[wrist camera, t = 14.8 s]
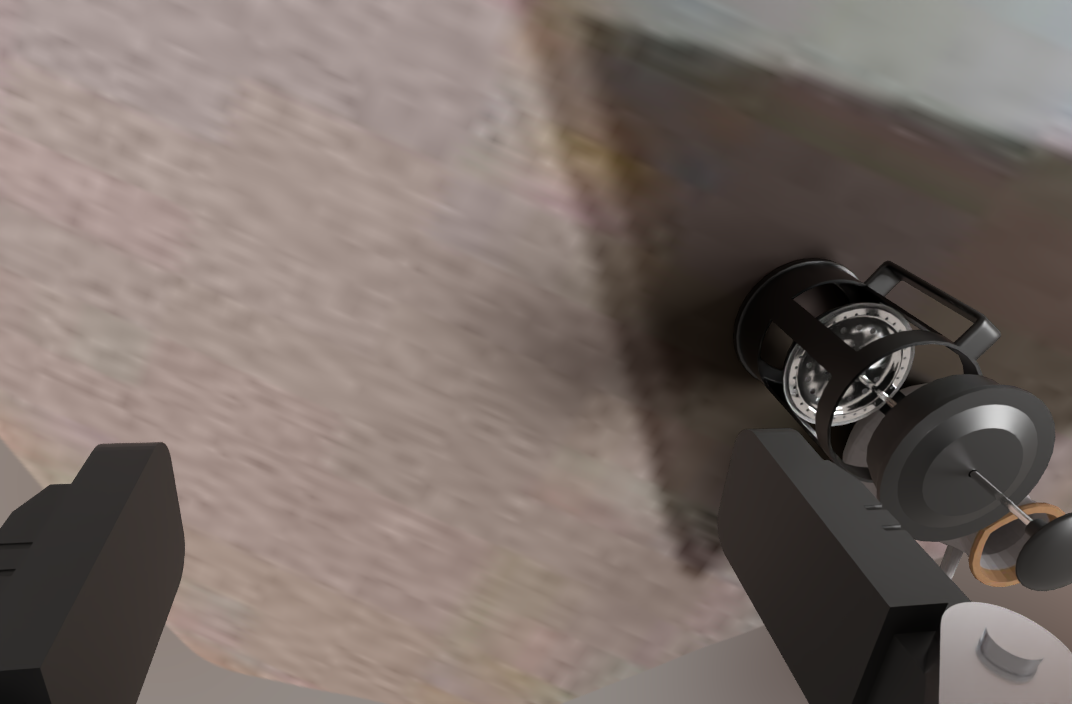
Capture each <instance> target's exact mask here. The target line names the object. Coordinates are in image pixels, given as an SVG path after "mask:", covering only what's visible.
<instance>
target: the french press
mask: <svg viewBox="0 0 1072 704" xmlns="http://www.w3.org/2000/svg"><path fill="white" fill-rule="evenodd" d="M900 281H905V282H907V283H908V284H910V285H912V286H913V287H915V288H917V289H918V290H920V291H922V292H923V293H925V294H927V295H928V296H930V297H932V298H933V299H935V300H937V301H938V302H940V303H942V304H943V305H945V306H947V307H948V308H950V309H952V310H953V311H955V312H957V313H958V314H960V315H962V316H963V317H965V318H967V319H968V320H970V321H972V322H973V323H974V324H973V325H972V326H971V327H970V328H969V329H968V330H967V331H966V332H965V333H964V334H963V335H962V336H961V337H959V338H958V339H957V340H956V341H955V342H952V341H951V340H949V339H948V338H946V337H945V336H943V335H942V334H940V333H938V332H937V331H935V330H934V329H932V328H931V327H929V326H928V325H926V324H925V323H923V322H922V321H920V320H919V319H917V318H916V317H914V316H913V315H911V314H910V313H908V312H906V311H905V310H903V309H902V308H900V307H899V306H897V305H896V304H894V303H893V302H891V301H890V300H888V299H887V298H885V296H886V295H887V294H888V293H889V292H890V291H891V290H892V289H893V288H894V287H895V286H896V285H897V284H898V283H899V282H900ZM827 283H833V284H835V285H836V286H838V287H839V288H840V290H841V291H842V292H843V293H844V295H845V297H846V299H847V303H848V304H846V305H842V306H838V307H836V308H834V309H831V310H829V311H826V312H825V313H823V314H821V315H820V316H818V317H816V318H815V317H814V316H812V315H811V314H810V313H809V312H807V311H806V310H805V309H804V308H803V307H801V306H800V305H799V304H798V303H796V302H795V301H794V300H793V299H794V298H795V297H797V296H798V295H800V294H802V293H803V292H805V291H807V290H809V289H812V288H814V287H816V286H820V285H823V284H827ZM772 321H773V322H774V323H775V324H776V325H778V326H779V327H780V328H781V329H782V330H783V331H784V332H785V333H786V334H787V335H788V336H790V337H791V338H792V339H793V340H794V341H793V343H792V345H791V347H790V349H789V351H788V353H787V356H786V359H785V362H784V367H783V369H778V368H775V367H772V366H770V365H769V364H767V363H766V362H764V361H763V360H762V358H761V357H760V352H761V346H762V342H763V339H764V336H765V333H766V331H767V329H768V328H769V326H770V324H771V322H772ZM908 321H909V322H910V323H912V324H913V325H915V326H916V327H918V328H919V329H921V330H912V329H911V327H910V325H909V323H908ZM1000 336H1001V333H1000V331H999V330H998V329H997V328H996V327H995V326H994V325H993V324H992V323H991V322H990V321H989V320H988V319H987V317H986V316H985V315H983V314H982V313H980V312H978V311H976V310H975V309H973V308H971V307H969V306H968V305H966V304H964V303H962V302H961V301H959V300H957V299H956V298H954V297H952V296H950V295H949V294H947V293H945V292H943V291H942V290H940V289H938V288H936V287H935V286H933V285H931V284H929V283H928V282H926V281H924V280H922V279H921V278H919V277H917V276H916V275H914V274H912V273H910V272H909V271H907V270H905V269H903V268H902V267H900V266H898V265H896V264H895V263H893V262H891V261H886V262H884V263H883V264H882V265H881V266H880V267H879V268H878V269H877V270H876V271H875V272H874V273H873V274H872V275H871V276H870V277H869V278H868V279H867V280H866V281H865V282H864V283H862V282H861V281H859V279H858V278H857V277H856V276H855V275H854V273H853V272H851V271H850V270H849V269H847V268H846V267H844V266H843V265H841V264H839V263H836V262H834V261H831V260H826V259H819V258H814V259H802V260H799V261H795V262H791V263H789V264H786V265H784V266H782V267H780V268H777V269H776V270H774V271H773V272H771V273H770V274H768V275H767V276H765V277H764V278H763V279H762V280H761V281H760V282H759V283H758V284H757V285H756V286H755V287H754V288H753V289H752V291H751V292H750V293H749V294H748V296H747V297H746V299H745V300H744V302H743V304H742V306H741V308H740V309H739V312H738V315H737V318H736V321H735V327H734V347H735V350H736V353H737V356H738V359H739V360H740V362H741V364H742V365H743V367H744V368H745V369H746V370H747V371H748V372H749V373H750V374H751V375H752V376H753V377H755V378H757V379H758V380H760V381H761V382H762V383H763V384H764V385H765V386H766V388H767V389H768V390H769V391H770V392H771V393H772V394H773V395H774V396H775V398H776V399H777V400H778V401H779V402H780V403H781V404H782V405H783V406H784V408H785V409H786V410H787V411H788V412H789V413H790V414H791V415H792V416H793V418H794V419H795V420H796V421H797V422H798V423H799V424H800V425H801V427H802V428H803V429H804V430H805V431H806V432H807V433H808V434H809V435H810V437H811V438H812V439H813V440H814V441H815V442H816V443H817V444H818V445H819V447H820V448H821V449H822V450H823V451H824V452H825V453H826V454H827V455H828V457H829V458H830V459H831V460H832V461H833V462H834V463H835V464H836V465H837V466H839V467H840V468H842V469H843V470H845V471H846V472H848V473H849V474H851V475H853V476H854V477H856V478H857V479H859V480H860V481H864V482H867V483H874V485H875V487H876V489H877V496H876V497H877V499H878V500H879V502H880V503H881V504H882V508H883V510H884V509H887V510H888V511H889V512H890V513H891V515H892V516H893V517H894V518H895V519H896V520H897V521H898V522H899V523H900V524H901V530H906V531H907V532H908V533H909V534H910V535H911V536H912V537H913V539H915V540H919V541H931V542H938V541H946V540H953V539H956V538H960V537H963V536H967V535H970V534H972V533H974V532H977V531H979V530H981V529H984V528H986V527H987V526H989V525H991V524H992V523H994V522H996V521H998V520H999V519H1001V518H1002V517H1003V516H1005V515H1006V514H1007V513H1009V512H1012V513H1013V514H1014V515H1015V516H1016V517H1017V518H1019V519H1020V520H1021V521H1022V522H1023V523H1024V524H1025V525H1027V526H1026V528H1025V533H1026V534H1027V535H1028V536H1029V537H1030V538H1029V540H1028V541H1027V542H1026V543H1025V544H1024V546H1023V547H1022V549H1021V551H1020V552H1019V555H1018V557H1017V560H1016V565H1015V571H1016V576H1017V579H1018V581H1019V582H1020V583H1021V584H1022V585H1023V586H1025V587H1027V588H1029V589H1032V590H1036V591H1049V590H1055V589H1058V588H1061V587H1064V586H1067V585H1069V584H1071V583H1072V513H1068V514H1065V515H1063V516H1060V517H1058V518H1056V519H1054V520H1052V521H1050V522H1049V523H1047V522H1045V521H1044V520H1043V519H1040V518H1038V519H1034V520H1033V519H1032V518H1031V517H1029V516H1028V515H1027V514H1026V513H1025V512H1024V511H1022V510H1021V509H1020V508H1019V507H1018V506H1017V505H1018V504H1019V503H1020V502H1021V501H1022V500H1023V499H1024V498H1025V497H1026V496H1027V495H1028V494H1029V493H1030V492H1031V490H1032V489H1033V488H1034V487H1035V485H1036V484H1037V483H1038V482H1039V480H1040V478H1041V476H1042V475H1043V473H1044V471H1045V470H1046V468H1047V466H1048V463H1049V461H1050V458H1051V455H1052V453H1053V448H1054V442H1055V424H1054V421H1053V418H1052V415H1051V412H1050V411H1049V409H1048V408H1047V407H1046V405H1045V404H1044V403H1043V401H1041V400H1040V399H1038V398H1037V397H1036V396H1034V395H1033V394H1031V393H1030V392H1028V391H1026V390H1023V389H1021V388H1018V387H1015V386H1008V385H1000V384H998V383H997V382H995V381H994V380H992V379H989V378H987V377H984V376H983V375H982V372H981V370H980V367H979V365H978V363H977V362H976V360H977V359H978V358H979V357H980V356H981V355H982V354H983V353H984V352H985V351H986V350H987V349H989V348H990V347H991V346H992V345H993V344H994V343H995V342H996V341H997V340H998V339H999V338H1000ZM924 344H938V345H945V346H946V347H948V348H949V349H951V350H952V351H954V352H955V353H957V354H958V355H959V357H960V360H961V362H962V364H963V370H964V374H962V375H952V376H948V377H945V378H941V379H937V380H935V381H933V382H930V383H928V384H926V385H923V386H921V387H920V388H918V389H916V390H915V391H913V392H912V393H910V394H908V395H907V396H906V395H905V394H904V393H902V392H901V391H900V390H899V389H900V387H901V386H902V384H903V383H904V381H905V380H906V378H907V375H908V373H909V371H910V369H911V366H912V362H913V359H914V352H915V346H916V345H924ZM877 410H879V411H880V412H881V413H882V414H884V415H885V417H884V418H883V419H882V420H881V422H880V423H879V425H878V426H877V428H876V429H875V431H874V432H873V435H872V437H871V439H870V441H869V443H868V446H867V457H866V462H867V465H868V467H858V466H853V465H849V464H846V463H844V462H843V461H842V460H841V459H840V458H839V456H838V455H837V454H836V453H835V452H834V451H833V449H832V445H831V426H837V425H844V424H848V423H852V422H855V421H858V420H860V419H862V418H864V417H867V416H868V415H870V414H872V413H873V412H875V411H877ZM805 420H806V421H808V422H810V423H813V424H815V430H814V429H813V428H812V427H811V426H810V425H809V424H808V423H807V422H806V421H805Z"/></svg>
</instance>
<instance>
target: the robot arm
mask: <svg viewBox="0 0 1072 704" xmlns="http://www.w3.org/2000/svg"><path fill="white" fill-rule="evenodd" d="M718 533H719V539H720V543H721V546H722V549H723V552H724V554H725V556H726V557H727V559H728V561H729V563H730V565H731V566H732V568H733V570H734V572H735V573H736V575H737V577H738V579H739V580H740V582H741V584H742V586H743V588H744V589H745V591H746V593H747V595H748V596H749V598H750V600H751V602H752V603H753V605H754V607H755V609H756V611H757V612H758V614H759V616H760V618H761V619H762V621H763V623H764V625H765V626H766V628H767V630H768V632H769V634H770V635H771V637H772V639H773V640H774V642H775V644H776V646H777V648H778V649H779V651H780V653H781V655H782V656H783V658H784V660H785V662H786V663H787V665H788V667H789V669H790V671H791V672H792V674H793V676H794V678H795V680H796V681H797V683H798V685H799V686H800V688H801V690H802V692H803V694H804V695H805V697H806V699H807V701H808V703H809V704H1072V653H1071V652H1070V651H1069V650H1068V649H1067V648H1066V647H1065V645H1063V643H1062V642H1061V641H1059V640H1058V639H1057V638H1056V637H1055V636H1054V635H1052V634H1051V633H1050V632H1048V631H1047V630H1046V629H1044V628H1043V627H1041V626H1040V625H1038V624H1037V623H1035V622H1033V621H1032V620H1030V619H1028V618H1026V617H1024V616H1022V615H1020V614H1018V613H1016V612H1013V611H1011V610H1008V609H1006V608H1002V607H999V606H996V605H992V604H987V603H980V602H971V601H970V600H969V598H967V596H966V595H965V594H964V593H963V592H962V591H961V590H960V589H959V588H958V587H957V585H956V584H955V583H954V582H953V581H952V580H951V579H950V578H949V577H948V576H947V574H946V573H945V572H944V571H943V570H942V569H941V568H940V567H939V566H938V565H937V564H936V563H935V561H934V560H933V559H932V558H931V557H930V556H929V555H928V554H927V553H926V552H925V551H924V549H923V548H922V547H921V546H920V545H919V544H918V543H917V542H916V541H915V540H914V539H913V537H912V536H911V535H910V534H909V533H908V532H907V531H906V530H901V524H900V523H899V522H898V521H897V520H896V519H895V518H894V517H893V516H892V515H891V513H890V512H889V511H888V510H887V509H884V510H883V508H882V504H881V503H880V502H879V500H878V499H877V498H876V497H875V496H874V495H873V494H872V493H871V492H870V491H869V490H868V488H867V487H866V486H865V485H864V484H863V483H862V482H861V481H860V480H859V479H857V478H856V477H854V476H853V475H851V474H849V473H848V472H846V471H845V470H843V469H842V468H840V467H839V466H837V465H835V464H834V463H832V462H831V461H829V460H823V459H822V458H821V457H820V456H819V455H818V454H817V452H816V451H815V450H814V449H813V448H812V447H811V446H810V444H809V443H808V442H807V441H806V440H805V439H804V438H803V437H802V435H801V434H800V433H799V432H798V431H796V430H795V429H792V428H779V429H745V430H742V431H741V432H740V433H739V434H738V436H737V438H736V440H735V444H734V448H733V452H732V456H731V460H730V465H729V469H728V473H727V477H726V482H725V486H724V490H723V494H722V498H721V503H720V507H719V512H718ZM184 556H185V540H184V531H183V526H182V520H181V514H180V508H179V502H178V497H177V491H176V485H175V479H174V473H173V467H172V462H171V457H170V453H169V450H168V448H167V446H166V445H165V444H164V443H163V442H155V443H114V444H99V445H98V446H96V447H95V448H94V450H93V451H92V453H91V454H90V456H89V457H88V459H87V460H86V462H85V463H84V465H83V466H82V468H81V470H80V471H79V473H78V474H77V476H76V477H75V479H74V480H73V482H72V483H71V484H54V485H49V486H48V487H46V488H45V489H44V490H42V491H41V492H40V493H38V494H37V495H35V496H34V497H33V498H31V499H30V500H28V501H27V502H26V503H24V504H23V505H21V506H20V507H19V508H17V509H16V510H15V511H13V512H12V513H11V515H10V516H9V517H8V519H7V520H6V521H5V523H4V524H3V526H2V527H1V528H0V704H136V702H137V700H138V697H139V694H140V691H141V689H142V686H143V683H144V680H145V678H146V675H147V672H148V669H149V666H150V664H151V661H152V658H153V656H154V653H155V650H156V647H157V645H158V642H159V639H160V636H161V634H162V631H163V628H164V625H165V623H166V620H167V617H168V614H169V612H170V609H171V606H172V603H173V601H174V598H175V595H176V592H177V590H178V587H179V584H180V581H181V577H182V572H183V566H184Z"/></svg>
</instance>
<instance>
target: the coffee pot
mask: <svg viewBox="0 0 1072 704" xmlns="http://www.w3.org/2000/svg"><path fill="white" fill-rule="evenodd" d="M926 384H928V383H925V384H920V385H915V386H910V387H907V388H904V389H902V390H900V391H901V392H902V393H904V394H905V395H906V396H907V395H908V394H910V393H912V392H913V391H915V390H916V389H918V388H920V387H921V386H923V385H926ZM884 417H885V415H884V414H882V413H881V412H880V411H879V410H877V411H875V412H873V413H872V414H870V415H868V416H867V417H864V418H862V419H860V420H858V421H857V422H856V424H855V425H854V427H853V429H852V431H851V433H850V435H849V438H848V441H847V443H846V446H845V449H844V451H843V460H842V461H843V462H844V463H846V464H849V465H853V466H858V467H868V465H867V462H866V457H867V446H868V443H869V441H870V439H871V437H872V435H873V432H874V431H875V429H876V428H877V426H878V425H879V423H880V422H881V420H882V419H883V418H884ZM861 482H862V483H863V484H864V485H865V486H866V487H867V488H868V490H869V491H870V492H871V493H872V494H873V495H874V496H875V497H876V496H877V489H876V487H875V485H874V483H867V482H864V481H861ZM876 498H877V497H876ZM1017 506H1018V507H1019V508H1020V509H1021V510H1022V511H1024V512H1025V513H1026V514H1027V515H1028V516H1029V517H1031V518H1032V519H1033V520H1034V519H1038V518H1040V519H1043V520H1044V521H1045V522H1047V523H1049V522H1050V521H1052V520H1054V519H1056V518H1058V517H1060V516H1063V515H1065V513H1064V512H1063V511H1062V510H1061V509H1059V508H1058V507H1056V506H1054V505H1050V504H1047V503H1037V502H1035V501H1033V500H1031V499H1030V497H1029V494H1028V495H1027V496H1026V497H1025V498H1024V499H1023V500H1022V501H1021V502H1020V503H1019V504H1018V505H1017ZM1026 526H1027V525H1025V524H1024V523H1023V522H1022V521H1021V520H1020V519H1019V518H1017V517H1016V516H1015V515H1014V514H1013V513H1012V512H1009V513H1007V514H1006V515H1005V516H1003V517H1002V518H1001V519H999V520H998V521H996V522H994V523H992V524H991V525H989V526H987V527H986V528H984V529H981V530H979V531H977V532H974V533H972V534H970V535H967V536H963V537H960V538H956V539H953V540H946V541H938V542H941V543H943V544H946V545H948V546H947V549H946V551H945V554H944V557H943V559H942V562H941V565H940V568H941V569H942V570H943V571H944V572H945V573H946V574H947V576H948V577H949V578H950V579H952V577H953V575H954V572H955V570H956V568H957V566H958V563H959V561H960V559H961V557H962V554H963V552H965V553H966V554H967V555H968V557H969V567H970V570H971V572H972V574H973V575H974V577H975V578H976V579H977V580H979V581H980V582H982V583H983V584H986V585H990V586H994V587H1000V586H1001V587H1004V586H1005V587H1006V586H1010V585H1014V584H1018V583H1020V582H1019V581H1018V579H1017V576H1016V571H1015V565H1016V560H1017V557H1018V555H1019V552H1020V551H1021V549H1022V547H1023V546H1024V544H1025V543H1026V542H1027V541H1028V540H1029V538H1030V537H1029V536H1028V535H1027V534H1026V533H1025V528H1026Z"/></svg>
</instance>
